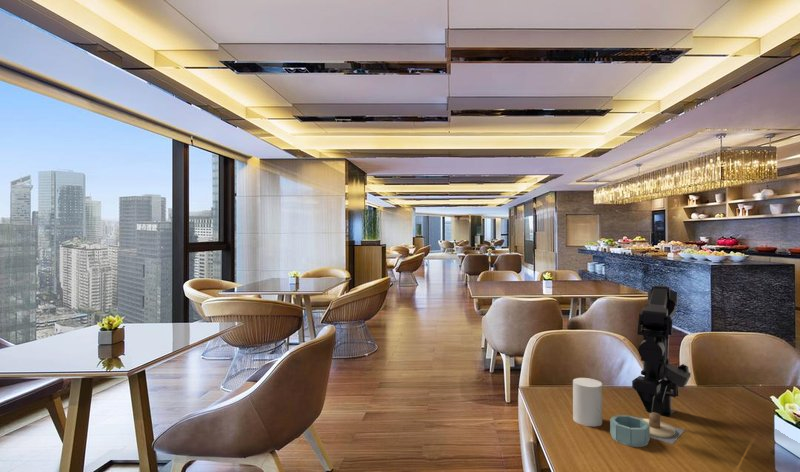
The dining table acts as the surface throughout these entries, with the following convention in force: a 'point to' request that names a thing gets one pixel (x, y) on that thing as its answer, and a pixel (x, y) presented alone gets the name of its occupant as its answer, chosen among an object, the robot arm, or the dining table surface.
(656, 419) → the lid
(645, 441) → the grooved blue cylinder
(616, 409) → the dining table surface
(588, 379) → the white cylinder
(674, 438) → the mat
